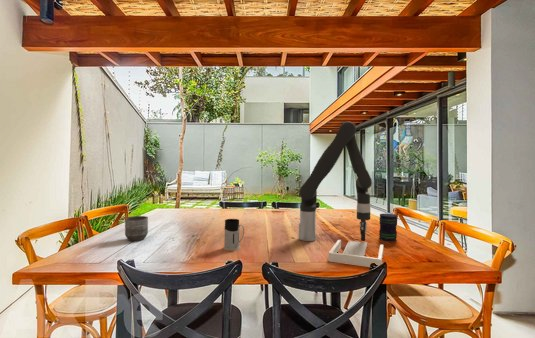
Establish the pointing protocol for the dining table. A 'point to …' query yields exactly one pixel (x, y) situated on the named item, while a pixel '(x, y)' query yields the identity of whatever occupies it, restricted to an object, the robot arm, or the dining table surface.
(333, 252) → the frame
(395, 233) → the storage jar
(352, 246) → the baseboard
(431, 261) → the dining table surface
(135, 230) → the planter
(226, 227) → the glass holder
